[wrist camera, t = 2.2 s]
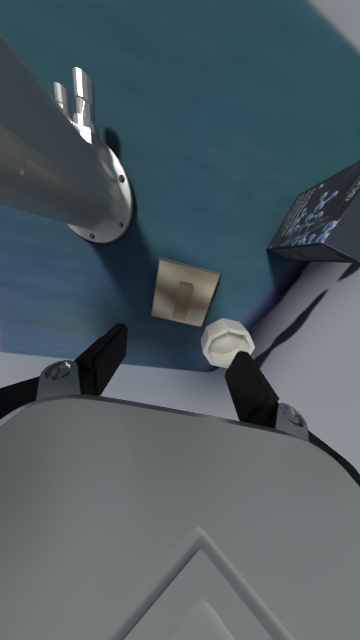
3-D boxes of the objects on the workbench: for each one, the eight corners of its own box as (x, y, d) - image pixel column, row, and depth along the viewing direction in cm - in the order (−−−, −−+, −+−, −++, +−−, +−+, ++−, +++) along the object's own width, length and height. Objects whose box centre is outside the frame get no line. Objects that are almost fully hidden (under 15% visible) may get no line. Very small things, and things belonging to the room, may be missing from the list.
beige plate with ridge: (161, 260, 23) (155, 260, 19) (217, 275, 24) (225, 278, 19) (152, 313, 28) (146, 324, 23) (200, 324, 29) (203, 337, 24)
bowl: (209, 315, 28) (214, 324, 24) (251, 324, 29) (262, 335, 25) (197, 349, 33) (198, 362, 29) (233, 357, 33) (240, 370, 29)
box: (296, 194, 19) (406, 131, 10) (326, 210, 20) (456, 166, 10) (264, 249, 23) (322, 243, 13) (290, 261, 23) (364, 263, 14)
